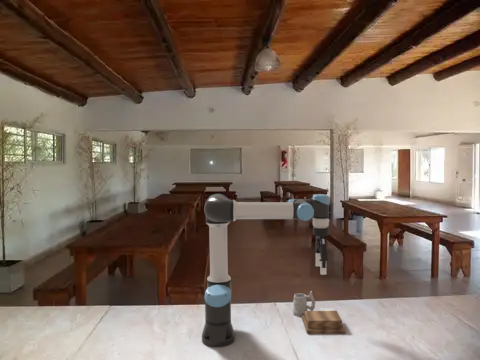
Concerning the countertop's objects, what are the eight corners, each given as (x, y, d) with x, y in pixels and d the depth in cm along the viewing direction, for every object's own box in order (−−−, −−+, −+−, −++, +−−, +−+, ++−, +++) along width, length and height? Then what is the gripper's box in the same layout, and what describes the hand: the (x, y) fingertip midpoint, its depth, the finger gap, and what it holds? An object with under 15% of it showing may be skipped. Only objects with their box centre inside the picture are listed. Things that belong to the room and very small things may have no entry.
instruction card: (322, 316, 213) (322, 316, 213) (318, 308, 224) (318, 308, 224) (338, 316, 213) (338, 316, 213) (333, 308, 224) (333, 307, 224)
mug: (291, 311, 221) (291, 289, 220) (313, 310, 222) (313, 288, 221) (294, 316, 214) (294, 294, 213) (316, 316, 214) (316, 293, 213)
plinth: (307, 333, 194) (307, 323, 193) (301, 318, 212) (301, 308, 211) (345, 333, 194) (345, 323, 193) (337, 318, 212) (337, 308, 211)
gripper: (334, 231, 187) (334, 278, 188) (323, 222, 212) (323, 263, 213) (317, 231, 187) (317, 278, 188) (309, 222, 212) (309, 263, 213)
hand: (320, 270), depth 201 cm, fingers open, 13 cm apart
